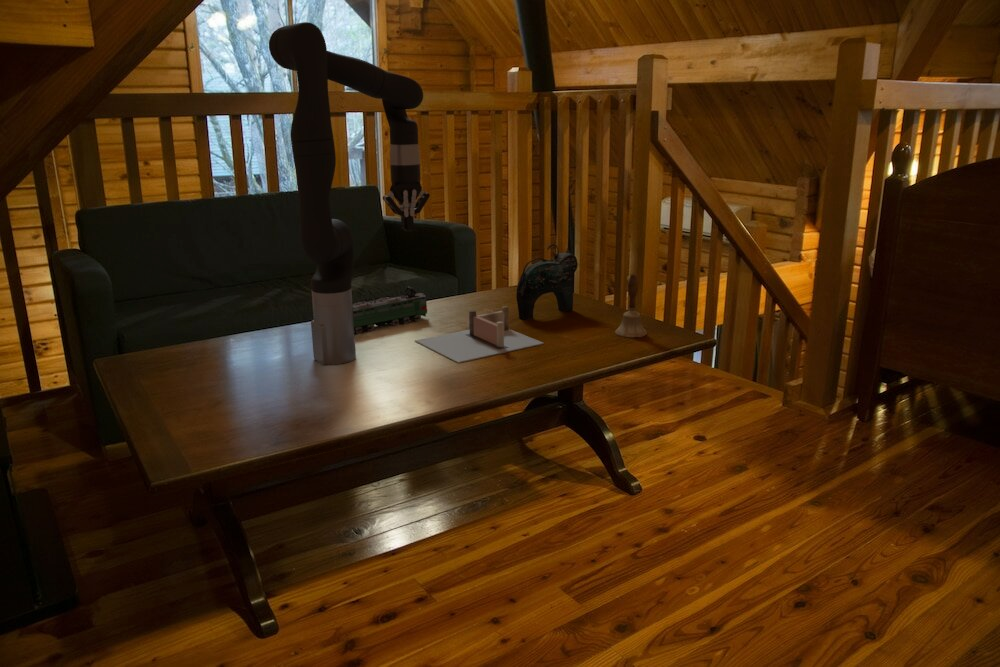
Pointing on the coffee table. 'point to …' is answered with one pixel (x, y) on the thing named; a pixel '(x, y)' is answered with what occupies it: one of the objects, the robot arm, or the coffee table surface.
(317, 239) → the robot arm
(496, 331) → the panel
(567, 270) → the black animal figurine
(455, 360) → the card
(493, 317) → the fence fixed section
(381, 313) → the toy train
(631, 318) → the hand bell
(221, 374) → the coffee table surface
